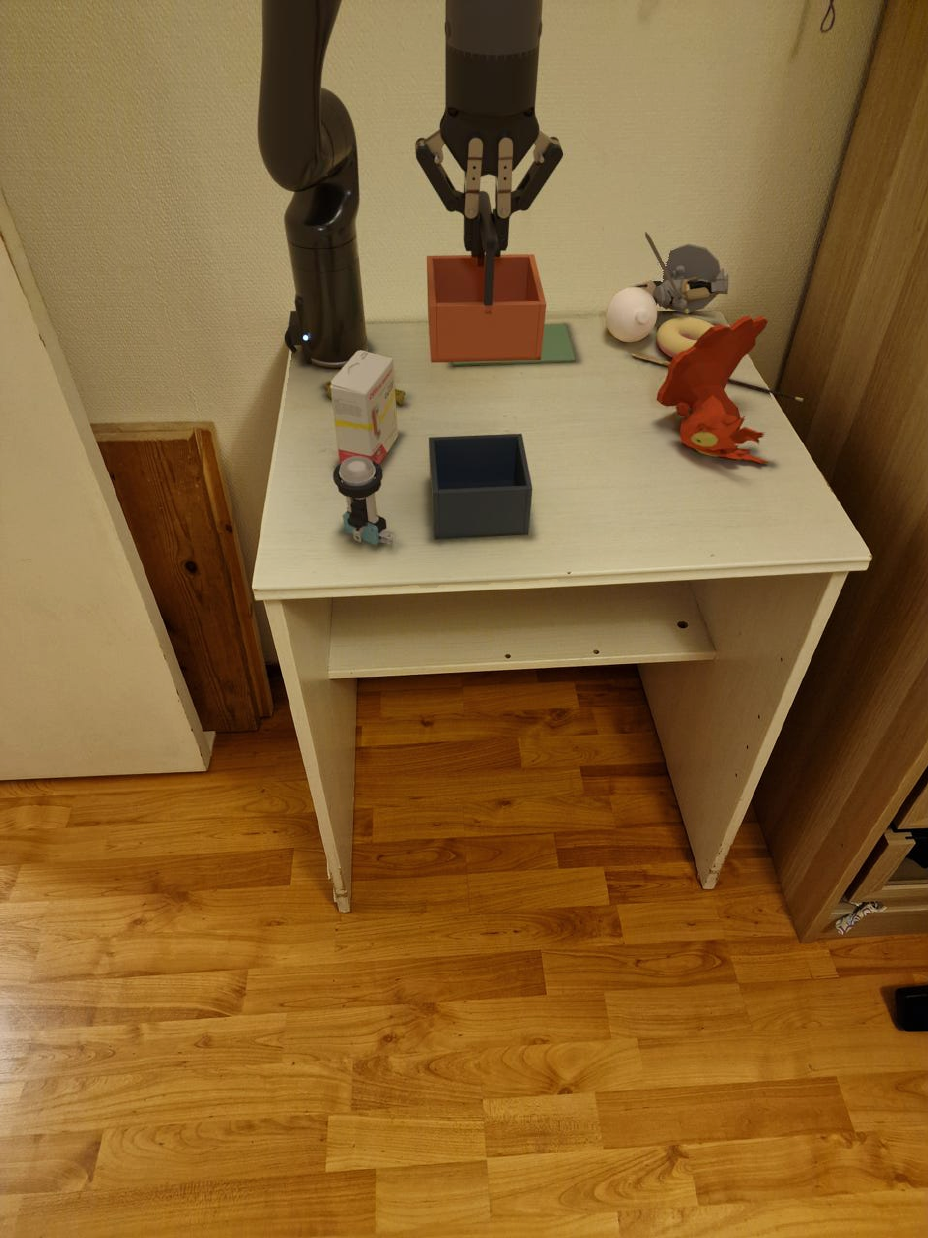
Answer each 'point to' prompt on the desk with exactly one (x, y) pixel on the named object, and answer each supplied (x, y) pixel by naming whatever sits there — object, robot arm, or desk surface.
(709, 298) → the toy
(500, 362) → the mat
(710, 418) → the toy
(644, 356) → the brush
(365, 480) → the push button
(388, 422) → the ink box
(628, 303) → the spinning top
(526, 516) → the bottom basket
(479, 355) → the box
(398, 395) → the key
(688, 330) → the donut
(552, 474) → the desk surface
